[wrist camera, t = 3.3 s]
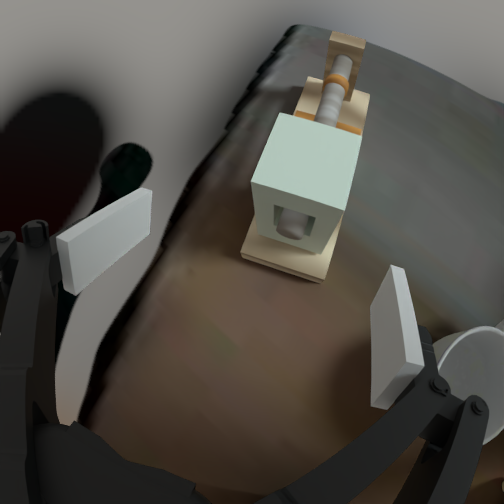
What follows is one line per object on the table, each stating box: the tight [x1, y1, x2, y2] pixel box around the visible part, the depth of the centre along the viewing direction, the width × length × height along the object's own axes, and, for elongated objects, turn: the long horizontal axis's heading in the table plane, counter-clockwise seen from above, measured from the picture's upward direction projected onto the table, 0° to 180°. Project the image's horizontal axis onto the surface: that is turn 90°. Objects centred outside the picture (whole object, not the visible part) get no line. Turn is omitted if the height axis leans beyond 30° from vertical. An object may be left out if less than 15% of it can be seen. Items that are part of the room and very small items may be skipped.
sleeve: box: [251, 113, 362, 255], centre depth 24 cm, size 6×6×10 cm
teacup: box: [433, 320, 504, 445], centre depth 22 cm, size 14×11×8 cm
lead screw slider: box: [240, 31, 370, 284], centre depth 28 cm, size 24×8×10 cm, turn 160°
